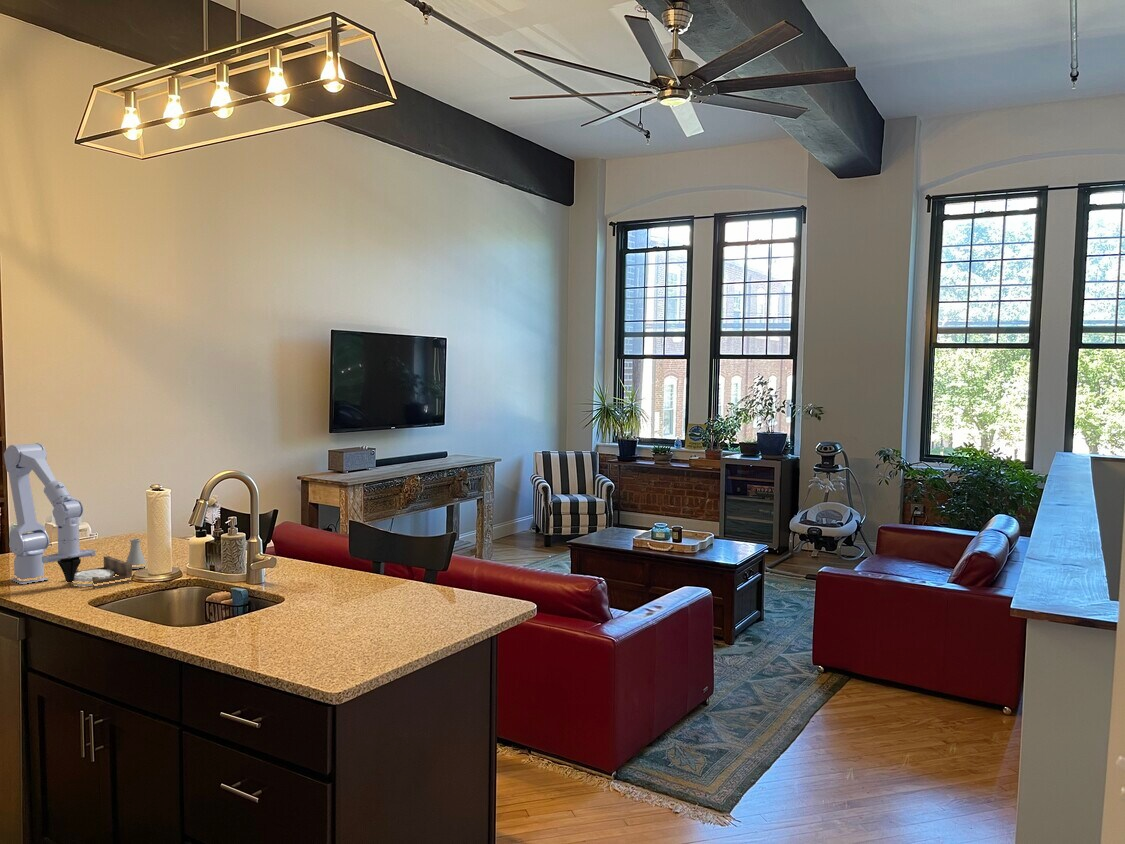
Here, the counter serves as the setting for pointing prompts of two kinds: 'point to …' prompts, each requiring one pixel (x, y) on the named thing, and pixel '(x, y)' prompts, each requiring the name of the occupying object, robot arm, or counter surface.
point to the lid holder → (118, 567)
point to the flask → (136, 554)
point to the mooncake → (89, 574)
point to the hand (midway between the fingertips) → (69, 582)
